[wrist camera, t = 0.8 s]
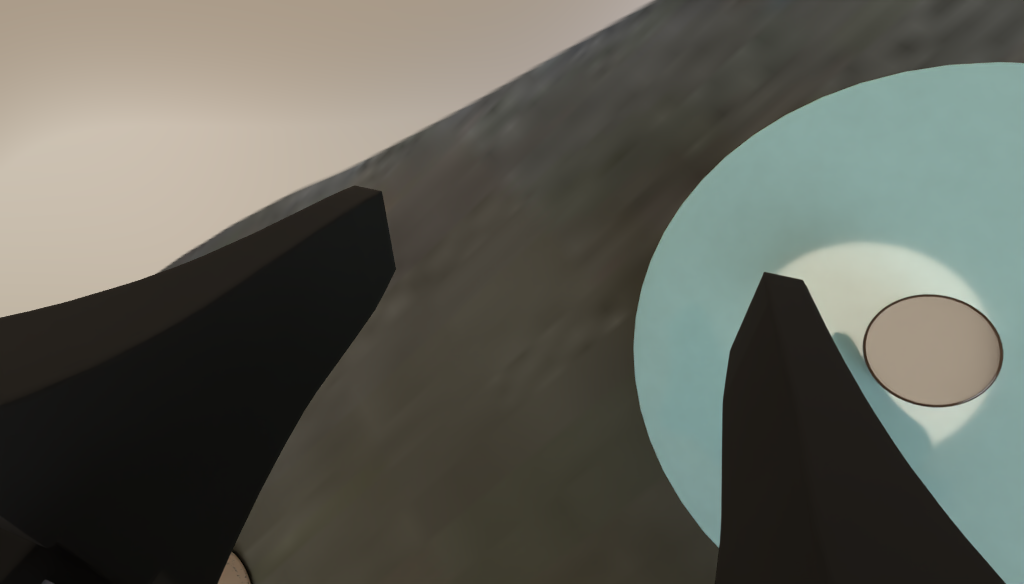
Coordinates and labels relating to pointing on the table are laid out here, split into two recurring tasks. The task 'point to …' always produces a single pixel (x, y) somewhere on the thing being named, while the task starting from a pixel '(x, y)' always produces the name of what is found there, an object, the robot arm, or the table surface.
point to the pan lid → (864, 285)
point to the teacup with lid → (234, 572)
